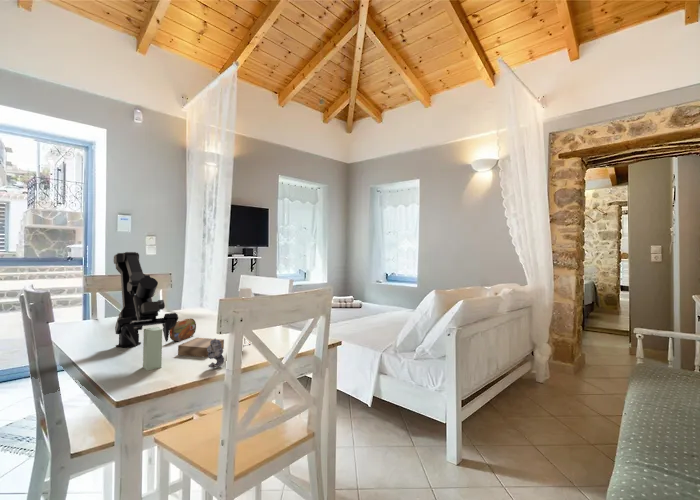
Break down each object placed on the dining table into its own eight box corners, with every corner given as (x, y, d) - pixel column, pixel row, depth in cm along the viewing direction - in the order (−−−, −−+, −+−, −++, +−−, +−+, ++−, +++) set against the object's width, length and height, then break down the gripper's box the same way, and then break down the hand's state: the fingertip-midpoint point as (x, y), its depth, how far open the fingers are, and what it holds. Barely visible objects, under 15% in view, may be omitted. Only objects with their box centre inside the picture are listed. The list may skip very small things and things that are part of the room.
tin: (174, 343, 146) (174, 323, 146) (167, 342, 147) (168, 323, 147) (196, 334, 161) (197, 316, 161) (190, 334, 161) (191, 316, 161)
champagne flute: (246, 346, 143) (247, 289, 143) (232, 344, 146) (233, 288, 145) (255, 342, 150) (256, 287, 150) (242, 341, 152) (243, 286, 152)
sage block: (142, 367, 117) (143, 329, 117) (157, 364, 120) (158, 327, 120) (146, 370, 114) (147, 331, 114) (161, 367, 117) (162, 329, 117)
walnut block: (177, 355, 131) (178, 345, 131) (197, 347, 143) (197, 337, 143) (206, 358, 129) (206, 347, 129) (223, 349, 141) (223, 339, 141)
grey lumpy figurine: (213, 371, 115) (214, 341, 115) (203, 367, 118) (204, 338, 118) (227, 366, 119) (227, 338, 119) (217, 363, 122) (217, 335, 122)
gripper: (117, 294, 114) (124, 334, 107) (177, 290, 127) (187, 325, 120) (112, 314, 120) (118, 353, 112) (169, 309, 133) (179, 343, 125)
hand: (152, 343), depth 117 cm, fingers open, 9 cm apart
